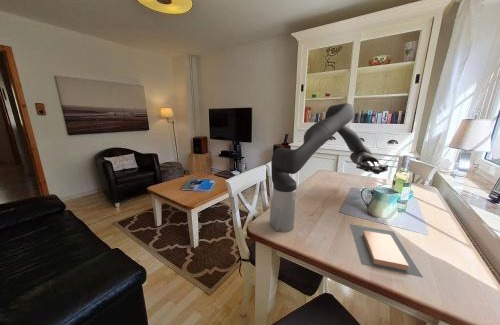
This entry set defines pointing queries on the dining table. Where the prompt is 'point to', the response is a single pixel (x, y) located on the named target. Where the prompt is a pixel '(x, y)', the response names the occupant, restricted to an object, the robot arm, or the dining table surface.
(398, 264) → the glazed tile
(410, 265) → the mat
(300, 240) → the dining table surface
